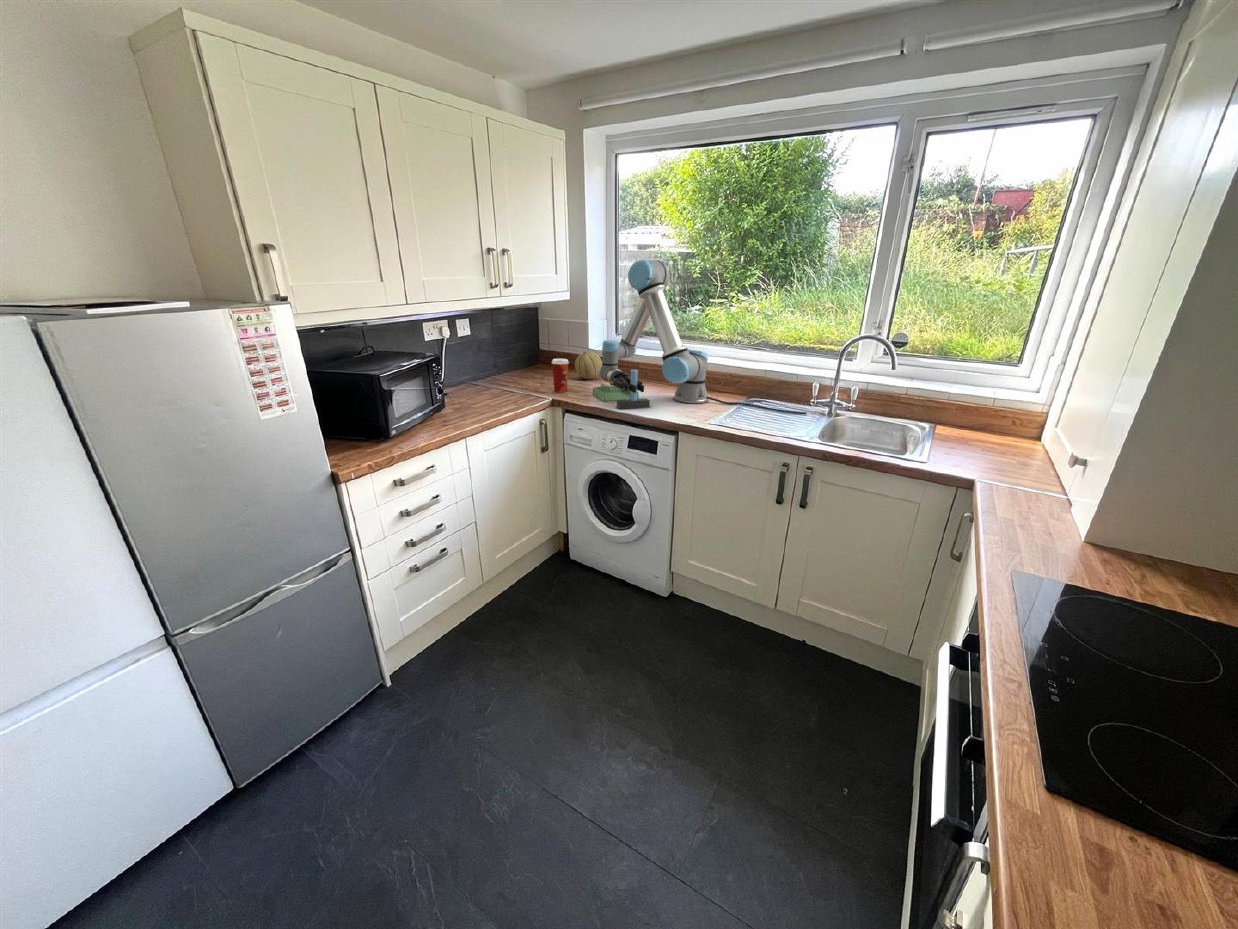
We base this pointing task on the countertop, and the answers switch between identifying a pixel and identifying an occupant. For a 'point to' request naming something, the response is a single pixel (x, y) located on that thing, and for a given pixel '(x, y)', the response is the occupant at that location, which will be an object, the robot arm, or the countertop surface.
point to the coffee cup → (560, 374)
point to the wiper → (633, 396)
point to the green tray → (606, 394)
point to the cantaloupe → (588, 365)
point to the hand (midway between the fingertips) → (639, 389)
